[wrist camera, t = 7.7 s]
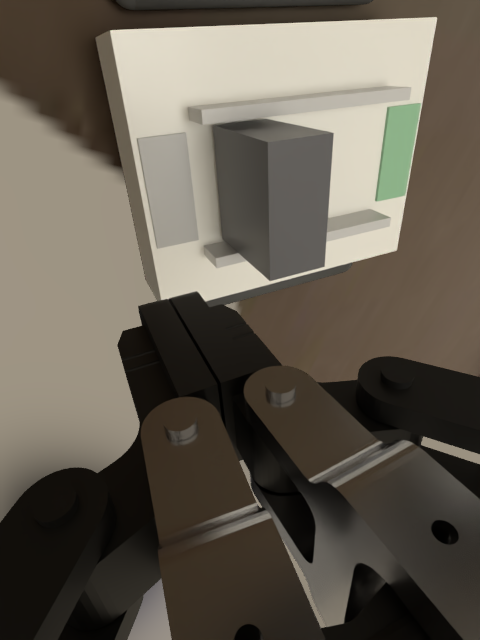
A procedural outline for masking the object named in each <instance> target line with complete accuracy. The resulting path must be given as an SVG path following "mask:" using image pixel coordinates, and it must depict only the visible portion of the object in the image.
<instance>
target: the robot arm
mask: <svg viewBox="0 0 480 640" xmlns="http://www.w3.org/2000/svg"><path fill="white" fill-rule="evenodd" d="M138 308H139V314H140V318H141V322H142V326H140V327H136V328H132V329H128V330H125V331H123V332H122V335H121V337H120V340H119V342H118V349H119V352H120V356H121V359H122V363H123V366H124V370H125V373H126V377H127V380H128V384H129V387H130V391H131V394H132V398H133V401H134V404H135V408H136V411H137V415H138V418H139V421H140V428H139V432H138V435H137V437H136V439H135V441H134V443H133V444H132V446H131V447H130V448H129V449H128V451H127V452H126V453H125V454H124V455H122V456H121V457H120V458H119V459H117V460H116V461H115V462H113V463H112V464H110V465H109V466H108V467H106V468H105V469H103V470H102V471H100V472H99V473H96V472H94V471H92V470H89V469H86V468H68V469H63V470H60V471H56V472H54V473H52V474H49V475H47V476H45V477H44V478H42V479H40V480H39V481H37V482H36V483H35V484H34V485H32V486H31V487H30V488H29V489H27V490H26V491H25V492H24V493H23V495H22V496H21V497H20V498H19V499H18V501H17V502H16V503H15V504H14V506H13V507H12V508H11V509H10V511H9V512H8V513H7V515H6V516H5V517H4V519H3V520H2V521H1V523H0V640H127V639H128V636H129V634H130V631H131V629H132V626H133V624H134V621H135V619H136V616H137V614H138V611H139V609H140V606H141V603H142V600H143V595H144V594H145V593H146V592H147V591H148V590H149V589H150V588H151V587H152V586H153V585H154V584H155V583H157V582H158V581H159V580H160V579H161V578H162V583H163V589H164V596H165V602H166V608H167V614H168V620H169V626H170V631H171V638H172V640H480V464H477V463H473V462H470V461H467V460H464V459H461V458H458V457H455V456H452V455H449V454H446V453H443V452H440V451H437V450H434V449H431V448H428V447H425V446H422V445H421V441H422V438H423V436H425V437H427V438H431V439H434V440H437V441H440V442H443V443H446V444H449V445H453V446H456V447H459V448H462V449H465V450H468V451H471V452H475V453H478V454H480V377H477V376H473V375H469V374H465V373H461V372H457V371H453V370H449V369H445V368H440V367H436V366H432V365H428V364H424V363H420V362H416V361H412V360H408V359H404V358H399V357H391V356H388V357H377V358H373V359H371V360H369V361H367V362H365V363H364V364H363V365H362V366H361V368H360V369H359V373H358V380H351V381H340V382H327V383H320V382H316V381H315V380H314V379H313V378H312V377H311V376H309V375H308V374H307V373H305V372H304V371H302V370H299V369H297V368H293V367H289V366H282V365H281V363H280V362H279V361H278V360H277V359H276V358H275V356H274V355H273V354H272V353H271V352H270V350H269V349H268V348H267V347H266V346H265V344H264V343H263V342H262V341H261V340H260V338H259V337H258V336H257V335H256V334H254V332H253V330H252V329H251V328H250V327H249V325H246V322H245V321H244V319H243V318H242V317H241V316H240V315H239V314H238V312H237V311H235V310H233V309H231V308H228V307H226V306H224V305H222V304H220V305H216V306H213V307H209V306H208V305H207V303H206V302H205V301H204V299H203V298H202V297H201V295H200V294H199V293H198V292H197V291H195V292H191V293H187V294H183V295H179V296H175V297H171V298H169V300H168V299H164V300H160V301H156V302H153V303H148V304H145V305H141V306H138ZM240 460H244V462H245V464H246V466H247V467H248V469H249V471H250V482H251V488H252V491H253V492H254V495H255V496H256V498H257V499H258V501H259V503H260V504H261V506H262V508H260V507H259V506H258V504H257V502H256V500H255V498H254V496H253V494H252V491H251V489H250V486H249V484H248V482H247V479H246V477H245V474H244V472H243V469H242V467H241V465H240V462H239V461H240ZM282 540H283V541H284V543H285V544H286V546H287V547H288V549H289V551H290V552H291V554H292V555H293V557H294V559H295V561H296V562H297V563H298V565H299V567H300V568H301V570H302V572H303V574H304V576H305V578H306V581H307V583H308V586H309V589H310V592H311V596H312V599H313V601H314V604H315V606H316V608H317V611H318V613H319V615H320V617H321V618H322V620H323V622H324V624H325V626H326V627H325V628H321V627H320V625H319V623H318V621H317V618H316V616H315V614H314V611H313V609H312V607H311V605H310V602H309V600H308V598H307V595H306V593H305V591H304V589H303V586H302V584H301V582H300V580H299V577H298V575H297V573H296V570H295V568H294V566H293V563H292V561H291V559H290V557H289V554H288V552H287V550H286V548H285V545H284V543H283V541H282Z"/></svg>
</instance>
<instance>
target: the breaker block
mask: <svg viewBox="0 0 480 640" xmlns="http://www.w3.org/2000/svg"><path fill="white" fill-rule="evenodd" d="M436 21H437V17H431V18H406V19H380V20H355V21H330V22H305V23H280V24H254V25H229V26H204V27H179V28H153V29H128V30H109V31H107V32H105V33H103V34H101V35H100V36H98V37H96V38H95V39H96V44H97V49H98V54H99V58H100V63H101V68H102V73H103V78H104V82H105V87H106V92H107V97H108V102H109V106H110V111H111V116H112V121H113V125H114V130H115V135H116V140H117V145H118V149H119V154H120V159H121V164H122V169H123V173H124V178H125V183H126V188H127V193H128V197H129V202H130V207H131V212H132V217H133V221H134V226H135V231H136V236H137V240H138V245H139V250H140V255H141V260H142V264H143V269H144V274H145V279H146V281H147V283H148V284H149V286H150V288H151V290H152V292H153V294H154V296H155V298H156V299H157V301H160V300H164V299H168V300H169V298H171V297H175V296H179V295H183V294H187V293H191V292H195V291H197V292H198V293H199V294H200V295H201V297H202V298H203V299H204V301H209V300H213V299H217V298H220V297H224V296H228V295H232V294H235V293H239V292H243V291H247V290H250V289H254V288H258V287H262V286H265V285H269V284H273V283H277V282H280V281H284V280H288V279H292V278H295V277H299V276H303V275H307V274H310V273H314V272H318V271H322V270H325V269H329V268H333V267H336V266H340V265H344V264H348V263H351V262H355V261H359V260H363V259H366V258H370V257H374V256H378V255H381V254H385V253H389V252H393V251H396V250H397V246H398V240H399V234H400V228H401V223H402V217H403V211H404V205H405V200H406V194H407V188H408V182H409V177H410V171H411V165H412V159H413V154H414V148H415V142H416V136H417V131H418V125H419V119H420V113H421V108H422V102H423V96H424V90H425V85H426V79H427V73H428V67H429V62H430V56H431V50H432V44H433V39H434V33H435V27H436ZM260 119H270V120H275V121H280V122H284V123H289V124H294V125H299V126H304V127H308V128H313V129H318V130H323V131H328V132H332V133H334V136H333V151H332V165H331V180H330V195H329V209H328V224H327V239H326V253H325V267H322V268H318V269H314V270H311V271H307V272H303V273H299V274H295V275H292V276H288V277H284V278H280V279H276V280H273V281H269V280H268V279H267V278H266V277H265V276H264V275H262V274H261V273H260V272H259V271H258V270H257V269H256V268H255V267H253V266H252V265H251V264H250V263H249V262H248V261H247V260H246V259H244V258H243V257H242V256H241V255H240V254H239V253H238V252H236V251H235V250H234V249H233V248H232V247H231V246H230V245H229V244H227V243H226V242H225V241H224V240H223V239H222V229H221V217H220V206H219V194H218V182H217V170H216V158H215V146H214V134H213V125H219V124H227V123H236V122H244V121H252V120H260Z"/></svg>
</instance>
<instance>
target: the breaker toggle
mask: <svg viewBox="0 0 480 640" xmlns="http://www.w3.org/2000/svg"><path fill="white" fill-rule="evenodd" d="M213 134H214V146H215V158H216V170H217V182H218V194H219V206H220V217H221V229H222V239H223V240H224V241H225V242H226V243H227V244H229V245H230V246H231V247H232V248H233V249H234V250H235V251H236V252H238V253H239V254H240V255H241V256H242V257H243V258H244V259H246V260H247V261H248V262H249V263H250V264H251V265H252V266H253V267H255V268H256V269H257V270H258V271H259V272H260V273H261V274H262V275H264V276H265V277H266V278H267V279H268V280H269V281H273V280H276V279H280V278H284V277H288V276H292V275H295V274H299V273H303V272H307V271H311V270H314V269H318V268H322V267H325V253H326V239H327V224H328V209H329V195H330V180H331V165H332V151H333V136H334V133H332V132H328V131H323V130H318V129H313V128H308V127H304V126H299V125H294V124H289V123H284V122H280V121H275V120H270V119H260V120H252V121H244V122H236V123H227V124H219V125H213Z"/></svg>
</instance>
